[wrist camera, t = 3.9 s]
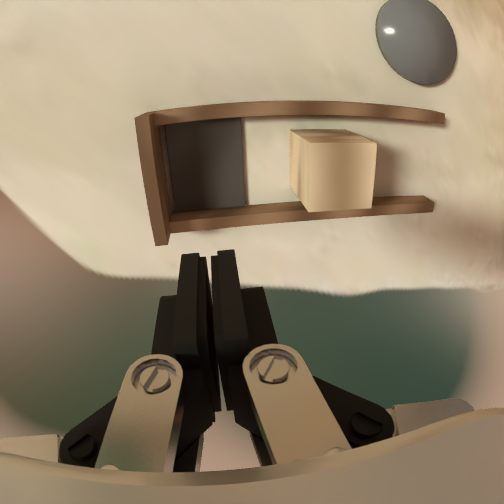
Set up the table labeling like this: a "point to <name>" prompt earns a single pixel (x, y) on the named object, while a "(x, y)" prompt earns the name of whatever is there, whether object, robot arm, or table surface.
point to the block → (332, 169)
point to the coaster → (416, 40)
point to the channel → (238, 166)
